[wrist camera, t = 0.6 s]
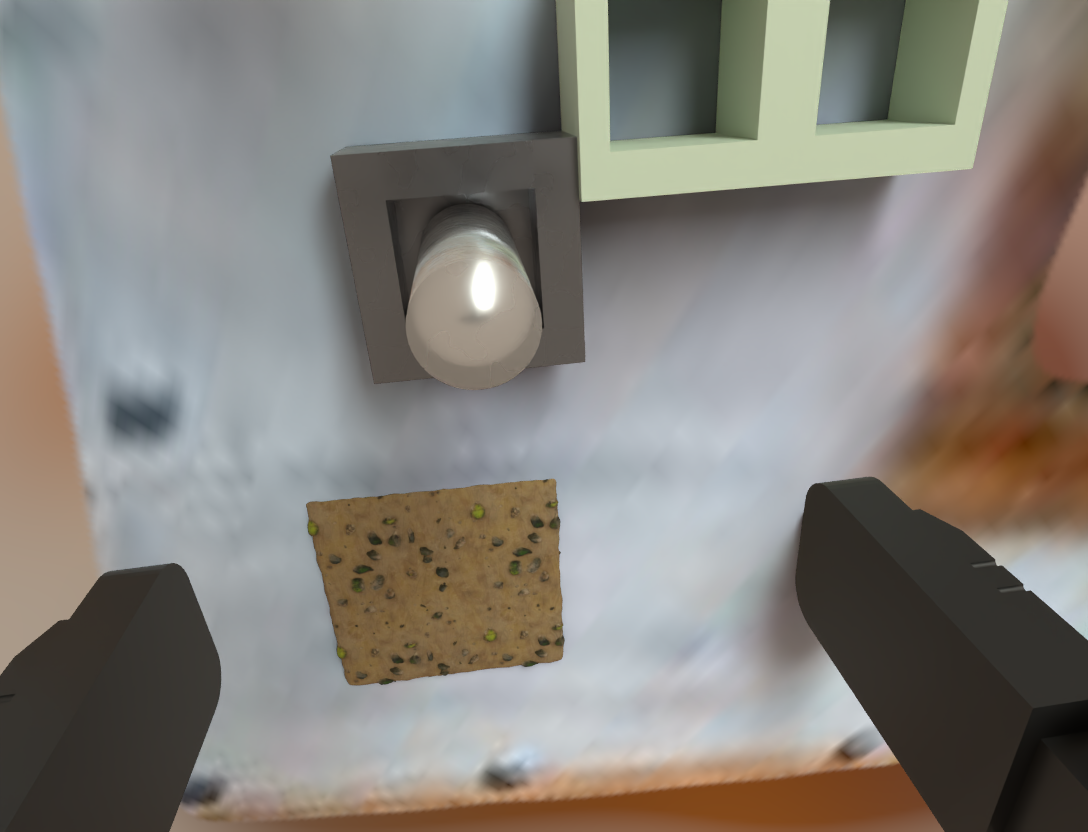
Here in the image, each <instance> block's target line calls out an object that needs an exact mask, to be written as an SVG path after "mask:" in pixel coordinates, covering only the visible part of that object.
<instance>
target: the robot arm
mask: <svg viewBox="0 0 1088 832" xmlns="http://www.w3.org/2000/svg"><path fill="white" fill-rule="evenodd" d="M795 579H796V592H797V597H798V601H799V605H800V608H801V611H802V613H803V616H804V618H805V620H806V622H807V623H808V625H809V626H810V628H811V630H812V631H813V633H814V634H815V636H816V637H817V639H818V640H819V642H820V643H821V645H822V646H823V648H824V649H825V651H826V652H827V654H828V655H829V657H830V658H831V660H832V661H833V663H834V664H835V666H836V667H837V669H838V670H839V672H840V673H841V675H842V677H843V678H844V680H845V681H846V683H847V684H848V686H849V687H850V689H851V690H852V692H853V693H854V695H855V696H856V698H857V699H858V701H859V702H860V704H861V705H862V707H863V708H864V710H865V711H866V713H867V714H868V716H869V717H870V719H871V720H872V722H873V724H874V725H875V727H876V728H877V730H878V731H879V733H880V734H881V736H882V737H883V739H884V740H885V742H886V743H887V745H888V746H889V748H890V749H891V751H892V752H893V754H894V755H895V757H896V758H897V760H898V761H899V763H900V764H901V766H902V767H903V769H904V770H905V772H906V774H907V775H908V776H909V778H910V780H911V781H912V783H913V784H914V786H915V787H916V788H917V790H918V792H919V793H920V795H921V796H922V798H923V799H924V801H925V802H926V804H927V805H928V807H929V808H930V810H931V811H932V813H933V814H934V816H935V818H936V819H937V821H938V822H939V824H940V825H941V827H942V828H943V830H944V831H945V832H1088V640H1087V639H1085V638H1084V637H1083V636H1082V635H1081V634H1080V633H1079V632H1077V631H1076V630H1075V629H1074V628H1073V627H1072V626H1071V625H1069V624H1068V623H1067V622H1066V621H1065V620H1064V619H1063V618H1061V617H1060V616H1059V615H1058V614H1057V613H1056V612H1055V611H1053V610H1052V609H1051V608H1050V607H1049V606H1048V605H1047V604H1045V603H1044V602H1043V601H1042V600H1041V599H1040V598H1039V597H1037V596H1036V595H1035V594H1034V593H1033V592H1032V591H1025V590H1024V588H1023V583H1021V582H1020V581H1019V580H1018V579H1017V578H1016V577H1015V576H1013V575H1012V574H1011V573H1010V572H1009V571H1008V570H1007V569H1005V568H1004V567H1003V566H997V565H996V563H995V559H994V558H993V557H992V556H991V555H989V554H988V553H987V552H986V551H985V550H984V549H983V548H981V547H980V546H979V545H978V544H977V543H976V542H975V541H973V540H972V539H971V538H970V537H969V536H968V535H967V534H965V533H964V532H963V531H961V530H959V529H958V528H956V527H954V526H952V525H950V524H948V523H946V522H944V521H942V520H940V519H938V518H936V517H934V516H932V515H930V514H928V513H926V512H924V511H923V510H921V509H919V510H912V509H910V508H909V507H908V506H907V505H906V504H905V503H904V502H903V501H902V500H901V499H900V498H899V497H897V496H896V495H895V494H894V493H893V492H892V491H891V490H890V489H889V488H888V487H887V486H886V485H884V484H883V483H882V482H881V481H880V480H878V479H876V478H874V477H863V478H855V479H847V480H840V481H832V482H824V483H816V484H814V485H812V486H811V487H810V488H809V490H808V492H807V495H806V500H805V507H804V515H803V522H802V530H801V538H800V545H799V553H798V560H797V568H796V578H795ZM220 688H221V666H220V660H219V656H218V652H217V650H216V647H215V644H214V642H213V639H212V637H211V634H210V632H209V629H208V626H207V624H206V621H205V619H204V616H203V614H202V611H201V609H200V606H199V603H198V601H197V598H196V596H195V593H194V591H193V588H192V585H191V583H190V580H189V578H188V576H187V574H186V572H185V571H184V569H183V568H182V567H181V566H180V565H178V564H175V563H171V564H163V565H156V566H148V567H140V568H132V569H124V570H116V571H109V572H107V573H104V574H103V575H102V576H101V577H100V578H99V579H98V580H97V581H96V583H95V584H94V586H93V587H92V588H91V590H90V591H89V593H88V594H87V595H86V597H85V598H84V600H83V601H82V602H81V604H80V605H79V606H78V608H77V609H76V611H75V612H74V613H73V615H72V616H71V618H70V619H69V620H61V621H58V622H57V623H56V624H54V625H53V626H52V627H51V628H50V629H48V630H47V631H46V632H45V633H44V634H42V635H41V636H40V637H38V638H37V639H36V640H35V641H34V642H32V643H31V644H30V645H29V646H27V647H26V648H25V649H24V650H23V651H21V652H20V653H19V654H18V655H16V656H15V657H14V658H13V660H12V661H11V662H10V663H9V665H8V666H7V667H6V669H5V670H4V671H3V673H2V674H1V675H0V832H169V831H170V829H171V826H172V823H173V821H174V818H175V815H176V813H177V810H178V807H179V805H180V802H181V800H182V797H183V794H184V792H185V789H186V786H187V784H188V781H189V778H190V776H191V773H192V770H193V768H194V765H195V763H196V760H197V757H198V755H199V752H200V749H201V747H202V744H203V741H204V739H205V736H206V734H207V731H208V728H209V726H210V723H211V720H212V718H213V715H214V712H215V710H216V707H217V704H218V700H219V695H220Z"/></svg>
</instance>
